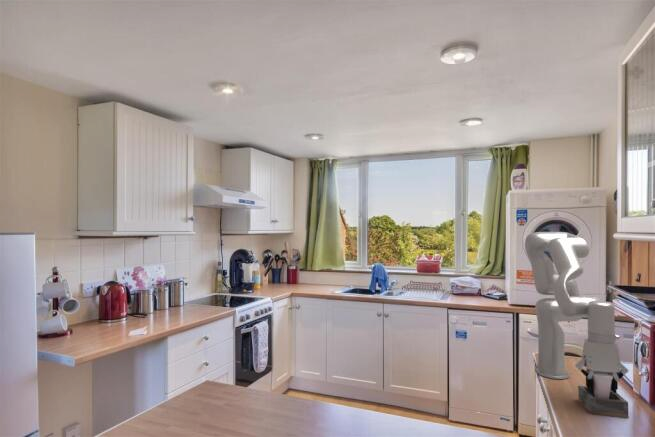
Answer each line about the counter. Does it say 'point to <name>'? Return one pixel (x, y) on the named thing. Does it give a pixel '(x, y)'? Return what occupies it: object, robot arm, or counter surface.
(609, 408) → the frame
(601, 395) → the smoothie
